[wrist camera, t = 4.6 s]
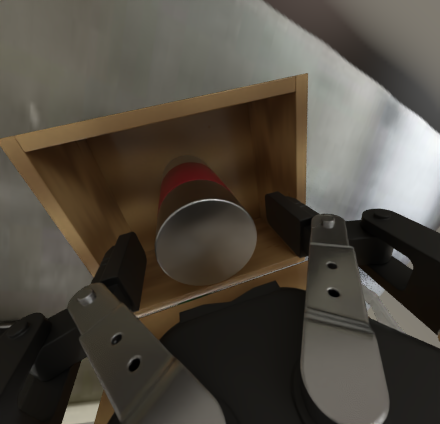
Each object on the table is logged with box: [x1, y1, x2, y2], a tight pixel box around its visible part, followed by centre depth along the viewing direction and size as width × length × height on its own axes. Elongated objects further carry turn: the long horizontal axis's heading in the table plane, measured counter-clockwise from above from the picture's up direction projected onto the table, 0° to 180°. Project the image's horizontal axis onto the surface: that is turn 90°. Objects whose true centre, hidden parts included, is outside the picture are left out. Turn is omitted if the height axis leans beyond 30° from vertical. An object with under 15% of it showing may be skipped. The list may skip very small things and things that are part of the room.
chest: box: [0, 73, 308, 317], centre depth 17 cm, size 15×17×9 cm
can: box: [155, 155, 257, 286], centre depth 15 cm, size 5×5×12 cm
